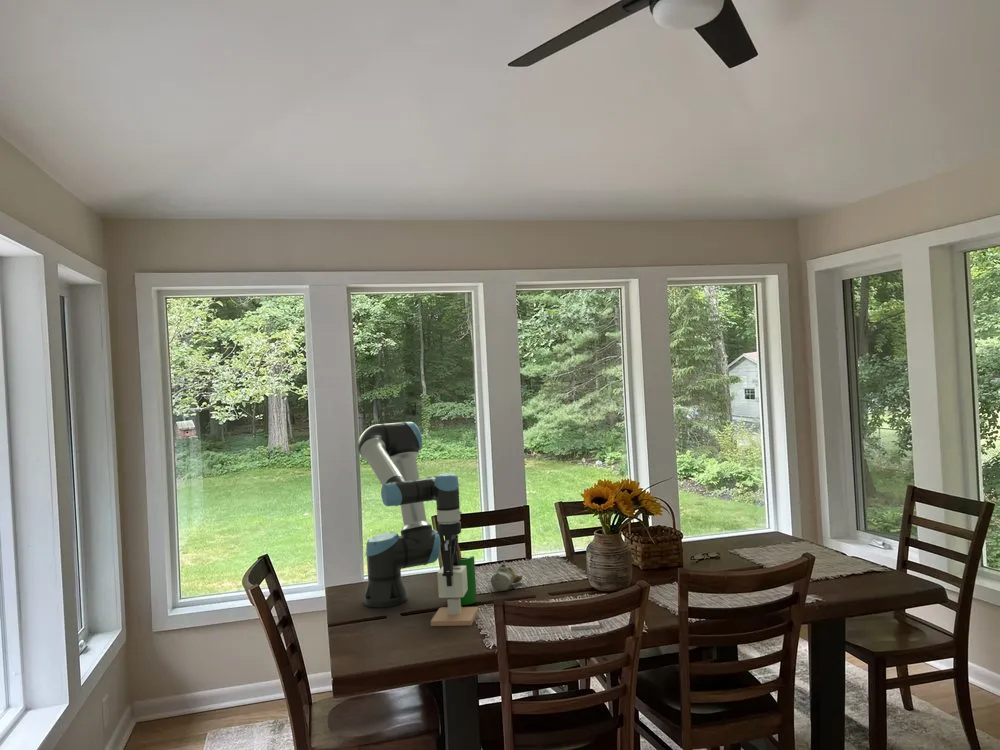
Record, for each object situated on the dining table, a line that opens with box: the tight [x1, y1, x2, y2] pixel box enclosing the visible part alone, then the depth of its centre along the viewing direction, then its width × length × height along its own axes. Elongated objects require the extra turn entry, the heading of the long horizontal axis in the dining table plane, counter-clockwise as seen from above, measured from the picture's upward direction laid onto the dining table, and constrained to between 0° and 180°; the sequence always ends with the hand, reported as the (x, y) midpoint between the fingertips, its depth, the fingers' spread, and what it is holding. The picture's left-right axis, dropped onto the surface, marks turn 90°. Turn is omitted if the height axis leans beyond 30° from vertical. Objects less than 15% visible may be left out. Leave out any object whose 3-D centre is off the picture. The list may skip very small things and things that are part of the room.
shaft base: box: [430, 598, 479, 627], centre depth 233 cm, size 13×13×6 cm
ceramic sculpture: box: [490, 563, 523, 592], centre depth 264 cm, size 11×9×15 cm
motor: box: [454, 546, 478, 606], centre depth 250 cm, size 10×9×20 cm
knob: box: [437, 565, 468, 599], centre depth 233 cm, size 8×8×8 cm
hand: (453, 591), depth 233 cm, fingers closed on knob, 8 cm apart
